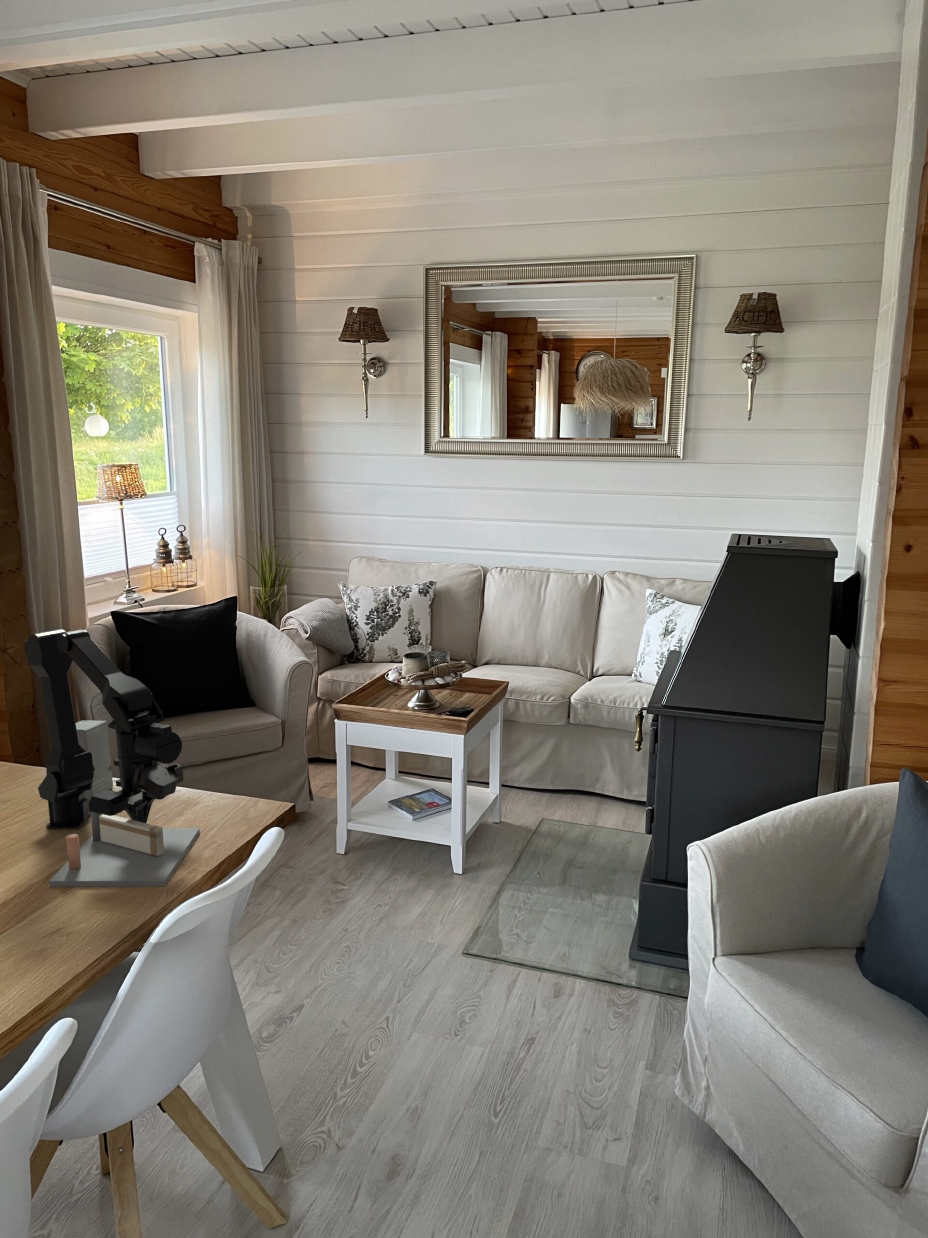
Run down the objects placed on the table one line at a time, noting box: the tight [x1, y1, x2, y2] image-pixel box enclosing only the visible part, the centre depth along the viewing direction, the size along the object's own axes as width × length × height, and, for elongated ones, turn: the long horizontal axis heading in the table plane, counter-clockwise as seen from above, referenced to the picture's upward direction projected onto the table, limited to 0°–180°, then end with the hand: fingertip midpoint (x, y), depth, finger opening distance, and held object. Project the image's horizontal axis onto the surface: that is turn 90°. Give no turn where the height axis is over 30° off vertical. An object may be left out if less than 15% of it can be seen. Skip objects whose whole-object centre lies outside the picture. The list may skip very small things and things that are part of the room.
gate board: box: [49, 812, 201, 887], centre depth 168 cm, size 20×22×8 cm
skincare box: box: [75, 719, 114, 800], centre depth 198 cm, size 8×7×16 cm
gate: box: [99, 814, 164, 856], centre depth 170 cm, size 14×2×5 cm, turn 63°
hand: (141, 830), depth 172 cm, fingers closed
